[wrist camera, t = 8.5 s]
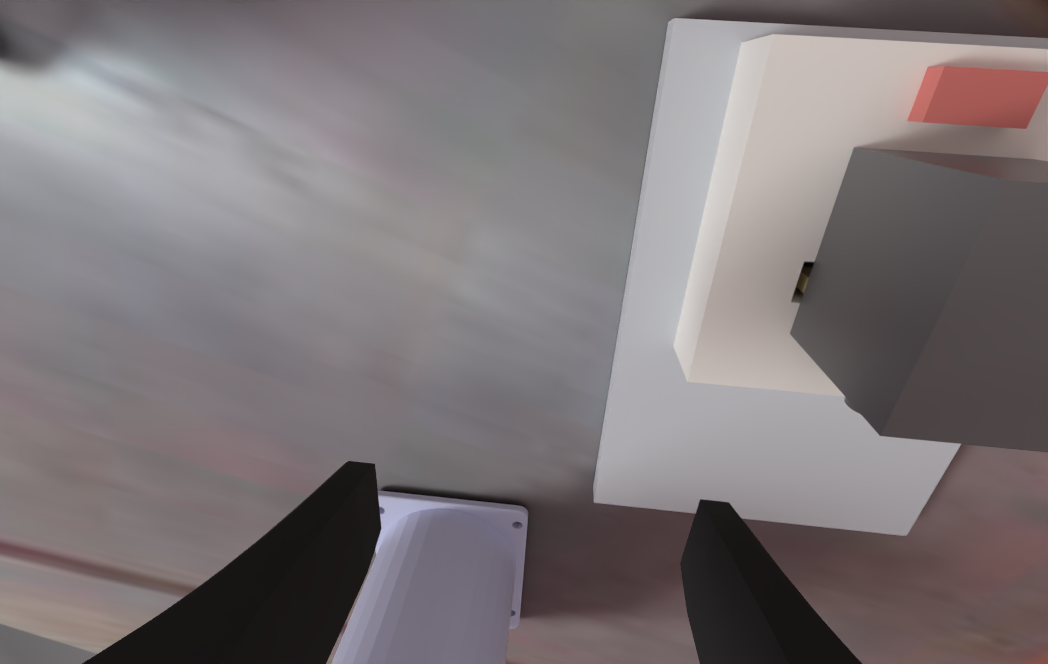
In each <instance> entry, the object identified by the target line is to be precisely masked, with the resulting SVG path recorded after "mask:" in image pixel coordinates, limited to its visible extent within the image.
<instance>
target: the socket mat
mask: <svg viewBox="0 0 1048 664" xmlns="http://www.w3.org/2000/svg"><path fill="white" fill-rule="evenodd" d="M772 34H781V35H800V36H818V37H836V38H854V39H872V40H890V41H908V42H926V43H944V44H963V45H981V46H999V47H1017V48H1035V49H1048V38H1035V37H1016V36H998V35H979V34H961V33H942V32H924V31H905V30H887V29H868V28H850V27H831V26H813V25H794V24H776V23H757V22H739V21H720V20H702V19H683V18H674V19H672V20H671V21H669V22H668V28H667V34H666V40H665V46H664V52H663V58H662V65H661V71H660V77H659V83H658V89H657V96H656V102H655V108H654V114H653V120H652V126H651V133H650V139H649V145H648V151H647V157H646V163H645V170H644V176H643V182H642V188H641V194H640V201H639V207H638V213H637V219H636V225H635V231H634V238H633V244H632V250H631V256H630V262H629V268H628V275H627V281H626V287H625V293H624V299H623V306H622V312H621V318H620V324H619V330H618V336H617V343H616V349H615V355H614V361H613V367H612V373H611V380H610V386H609V392H608V398H607V404H606V411H605V417H604V423H603V429H602V435H601V441H600V448H599V454H598V460H597V466H596V472H595V478H594V485H593V493H594V503H602V504H611V505H620V506H630V507H639V508H649V509H658V510H667V511H677V512H686V513H696V511H697V508H698V504H699V501H700V499H703V500H713V501H722V502H729V503H730V504H731V506H732V507H733V508H734V510H735V511H736V512H737V513H738V515H739V516H740V517H741V518H742V519H752V520H761V521H771V522H780V523H789V524H799V525H808V526H818V527H827V528H836V529H846V530H855V531H864V532H874V533H883V534H893V535H902V536H907V534H908V533H909V531H910V529H911V528H912V526H913V524H914V523H915V521H916V519H917V517H918V516H919V514H920V512H921V511H922V509H923V507H924V506H925V504H926V502H927V501H928V499H929V497H930V496H931V494H932V492H933V491H934V489H935V487H936V486H937V484H938V482H939V481H940V479H941V477H942V476H943V474H944V472H945V471H946V469H947V467H948V465H949V464H950V462H951V460H952V459H953V457H954V455H955V454H956V452H957V450H958V449H959V447H960V445H961V444H957V443H947V442H936V441H926V440H915V439H905V438H895V437H884V436H880V435H879V434H878V433H877V432H876V431H875V430H874V429H873V427H872V426H871V425H870V424H869V423H868V422H867V421H866V420H865V418H864V417H863V416H862V415H861V414H859V413H857V412H855V411H854V410H852V409H851V408H849V407H848V406H847V405H846V403H845V401H844V399H845V396H835V395H824V394H813V393H802V392H792V391H781V390H770V389H759V388H748V387H738V386H727V385H716V384H705V383H694V382H687V380H686V377H685V375H684V372H683V369H682V367H681V364H680V362H679V359H678V357H677V354H676V352H675V349H674V347H673V346H674V342H675V337H676V333H677V328H678V324H679V319H680V315H681V310H682V306H683V301H684V297H685V292H686V288H687V283H688V279H689V275H690V270H691V266H692V261H693V257H694V252H695V248H696V243H697V239H698V234H699V230H700V225H701V221H702V216H703V212H704V208H705V203H706V199H707V194H708V190H709V185H710V181H711V176H712V172H713V167H714V163H715V158H716V154H717V149H718V145H719V141H720V136H721V132H722V127H723V123H724V118H725V114H726V109H727V105H728V100H729V96H730V91H731V87H732V82H733V78H734V73H735V69H736V65H737V60H738V56H739V51H740V47H741V42H745V41H749V40H753V39H757V38H760V37H764V36H768V35H772ZM813 265H814V262H807V261H804V264H803V267H804V268H813Z"/></svg>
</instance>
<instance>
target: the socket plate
mask: <svg viewBox="0 0 1048 664" xmlns="http://www.w3.org/2000/svg"><path fill="white" fill-rule="evenodd" d="M854 147H857V148H872V149H887V150H902V151H917V152H932V153H947V154H962V155H977V156H992V157H1007V158H1022V159H1036V160H1042V161H1048V49H1035V48H1017V47H999V46H981V45H963V44H944V43H926V42H908V41H890V40H872V39H854V38H836V37H818V36H800V35H781V34H772V35H768V36H764V37H760V38H757V39H753V40H749V41H745V42H741V47H740V51H739V56H738V60H737V65H736V69H735V73H734V78H733V82H732V87H731V91H730V96H729V100H728V105H727V109H726V114H725V118H724V123H723V127H722V132H721V136H720V141H719V145H718V149H717V154H716V158H715V163H714V167H713V172H712V176H711V181H710V185H709V190H708V194H707V199H706V203H705V208H704V212H703V216H702V221H701V225H700V230H699V234H698V239H697V243H696V248H695V252H694V257H693V261H692V266H691V270H690V275H689V279H688V283H687V288H686V292H685V297H684V301H683V306H682V310H681V315H680V319H679V324H678V328H677V333H676V337H675V342H674V346H673V347H674V349H675V352H676V354H677V357H678V359H679V362H680V364H681V367H682V369H683V372H684V375H685V377H686V380H687V382H694V383H705V384H716V385H727V386H738V387H748V388H759V389H770V390H781V391H792V392H802V393H813V394H824V395H835V396H844V395H843V393H842V392H841V391H840V390H839V389H838V388H837V387H836V386H835V384H834V383H833V382H832V381H831V380H830V379H829V378H828V377H827V375H826V374H825V373H824V372H823V371H822V370H821V369H820V367H819V366H818V365H817V364H816V363H815V362H814V361H813V360H812V358H811V357H810V356H809V355H808V354H807V353H806V352H805V350H804V349H803V348H802V347H801V346H800V345H799V344H798V343H797V341H796V340H795V339H794V338H793V337H792V336H791V335H790V331H791V329H792V326H793V323H794V320H795V317H796V314H797V311H798V308H799V305H800V302H801V299H802V297H803V294H804V293H803V292H802V291H800V290H799V289H798V288H797V287H796V285H797V282H798V279H799V276H800V273H801V270H802V267H803V264H804V261H807V262H815V259H816V256H817V253H818V250H819V247H820V244H821V241H822V238H823V236H824V233H825V230H826V227H827V224H828V221H829V218H830V215H831V212H832V209H833V206H834V204H835V201H836V198H837V195H838V192H839V189H840V186H841V183H842V180H843V177H844V175H845V172H846V169H847V166H848V163H849V160H850V157H851V154H852V151H853V148H854Z"/></svg>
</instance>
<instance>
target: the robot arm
mask: <svg viewBox="0 0 1048 664" xmlns="http://www.w3.org/2000/svg"><path fill="white" fill-rule="evenodd" d="M381 507H382V508H381ZM516 522H520V523H516ZM527 525H528V511H527V509H526V508H524V507H523V506H518V505H509V504H500V503H491V502H481V501H472V500H463V499H453V498H444V497H435V496H426V495H416V494H407V493H398V492H388V491H378V489H377V480H376V470H375V464H371V463H362V462H353V461H348V462H347V463H345V464H344V465H343V466H342V467H341V468H340V469H338V470H337V471H336V472H335V473H334V474H333V475H332V476H331V477H330V478H329V479H327V480H326V481H325V482H324V483H323V484H322V485H321V486H320V487H319V488H318V489H316V490H315V491H314V492H313V493H312V494H311V495H310V496H309V497H308V498H307V499H305V500H304V501H303V502H302V503H301V504H300V505H299V506H298V507H297V508H295V509H294V510H293V511H292V512H291V513H290V514H288V515H287V516H286V517H285V518H284V519H283V520H282V521H280V522H279V523H278V524H277V525H276V526H275V527H273V528H272V529H271V530H270V531H269V532H268V533H266V534H265V535H264V536H263V537H262V538H260V539H259V540H258V541H257V542H256V543H254V544H253V545H252V546H251V547H249V548H248V549H247V550H246V551H244V552H243V553H242V554H241V555H239V556H238V557H237V558H236V559H234V560H233V561H232V562H231V563H229V564H228V565H227V566H226V567H224V568H223V569H222V570H220V571H219V572H218V573H217V574H215V575H214V576H213V577H211V578H210V579H209V580H207V581H206V582H205V583H203V584H202V585H200V586H199V587H198V588H196V589H195V590H194V591H192V592H191V593H189V594H188V595H187V596H185V597H184V598H182V599H181V600H180V601H178V602H177V603H175V604H174V605H172V606H171V607H170V608H168V609H167V610H165V611H164V612H162V613H161V614H159V615H158V616H156V617H155V618H153V619H152V620H150V621H149V622H147V623H146V624H144V625H143V626H141V627H140V628H138V629H136V630H135V631H133V632H132V633H130V634H129V635H127V636H125V637H124V638H122V639H121V640H119V641H117V642H116V643H114V644H113V645H111V646H110V647H108V648H106V649H105V650H103V651H102V652H100V653H98V654H97V655H95V656H94V657H92V658H91V659H89V660H87V661H86V662H84V663H82V664H326V662H327V660H328V658H329V656H330V654H331V651H332V649H333V647H334V645H335V643H336V641H337V638H338V636H339V634H340V632H341V630H342V628H343V625H344V623H345V621H346V619H347V617H348V614H349V612H350V610H351V608H352V606H353V603H354V601H355V599H356V597H357V595H358V592H359V590H360V588H361V586H362V584H363V581H364V579H365V577H366V574H367V572H368V569H369V566H370V563H371V560H372V557H373V554H374V551H375V549H376V558H375V560H374V563H373V565H372V567H371V570H370V572H369V575H368V577H367V579H366V582H365V584H364V587H363V589H362V592H361V594H360V596H359V599H358V601H357V604H356V606H355V608H354V611H353V613H352V616H351V618H350V620H349V623H348V625H347V628H346V630H345V632H344V635H343V637H342V640H341V642H340V645H339V647H338V649H337V652H336V654H335V657H334V659H333V661H332V664H505V661H506V652H507V643H508V634H509V629H514V628H516V627H518V626H519V621H520V610H521V597H522V585H523V573H524V561H525V549H526V537H527ZM681 571H682V579H683V587H684V594H685V600H686V607H687V613H688V617H689V621H690V626H691V630H692V634H693V638H694V642H695V646H696V650H697V654H698V657H699V661H700V664H862V663H861V662H860V661H859V660H858V659H857V658H856V657H855V656H854V655H853V653H852V652H851V651H850V650H849V649H848V648H847V647H846V646H845V645H844V643H843V642H842V641H841V640H840V639H839V638H838V637H837V636H836V634H835V633H834V632H833V631H832V630H831V629H830V628H829V627H828V626H827V624H826V623H825V622H824V621H823V620H822V619H821V617H820V616H819V615H818V614H817V613H816V612H815V610H814V609H813V608H812V607H811V606H810V604H809V603H808V602H807V601H806V600H805V598H804V597H803V596H802V595H801V594H800V592H799V591H798V590H797V589H796V587H795V586H794V585H793V584H792V583H791V581H790V580H789V579H788V578H787V576H786V575H785V574H784V573H783V571H782V570H781V569H780V568H779V566H778V565H777V564H776V563H775V561H774V560H773V559H772V558H771V556H770V555H769V554H768V552H767V551H766V550H765V549H764V547H763V546H762V545H761V543H760V542H759V541H758V539H757V538H756V537H755V536H754V534H753V533H752V532H751V530H750V529H749V528H748V526H747V525H746V524H745V522H744V521H743V520H742V519H741V517H740V516H739V515H738V513H737V512H736V511H735V510H734V508H733V507H732V506H731V504H730V503H729V502H722V501H713V500H703V499H700V501H699V504H698V508H697V511H696V514H695V517H694V521H693V524H692V527H691V530H690V534H689V537H688V540H687V543H686V547H685V550H684V553H683V556H682V560H681Z"/></svg>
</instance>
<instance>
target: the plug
mask: <svg viewBox="0 0 1048 664" xmlns="http://www.w3.org/2000/svg"><path fill="white" fill-rule="evenodd" d="M796 287H797V288H798V289H799V290H800V291H802V292H803V293H804V294H803V297H802V299H801V302H800V305H799V308H798V311H797V314H796V317H795V320H794V323H793V326H792V329H791V331H790V335H791V336H792V337H793V338H794V339H795V340H796V341H797V343H798V344H799V345H800V346H801V347H802V348H803V349H804V350H805V352H806V353H807V354H808V355H809V356H810V357H811V358H812V360H813V361H814V362H815V363H816V364H817V365H818V366H819V367H820V369H821V370H822V371H823V372H824V373H825V374H826V375H827V377H828V378H829V379H830V380H831V381H832V382H833V383H834V384H835V386H836V387H837V388H838V389H839V390H840V391H841V392H842V393H843V395H844V396H845V399H844V401H845V403H846V405H847V406H848V407H849V408H851V409H852V410H854V411H855V412H857V413H859V414H861V415H862V416H863V417H864V418H865V420H866V421H867V422H868V423H869V424H870V425H871V426H872V427H873V429H874V430H875V431H876V432H877V433H878V434H879V435H880V436H884V437H895V438H905V439H915V440H926V441H936V442H947V443H957V444H967V445H978V446H988V447H998V448H1009V449H1019V450H1030V451H1040V452H1048V161H1042V160H1036V159H1022V158H1007V157H992V156H977V155H962V154H947V153H932V152H917V151H902V150H887V149H872V148H857V147H854V148H853V151H852V154H851V157H850V160H849V163H848V166H847V169H846V172H845V175H844V177H843V180H842V183H841V186H840V189H839V192H838V195H837V198H836V201H835V204H834V206H833V209H832V212H831V215H830V218H829V221H828V224H827V227H826V230H825V233H824V236H823V238H822V241H821V244H820V247H819V250H818V253H817V256H816V259H815V262H814V265H813V268H804V267H802V270H801V273H800V276H799V279H798V282H797V285H796Z"/></svg>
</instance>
